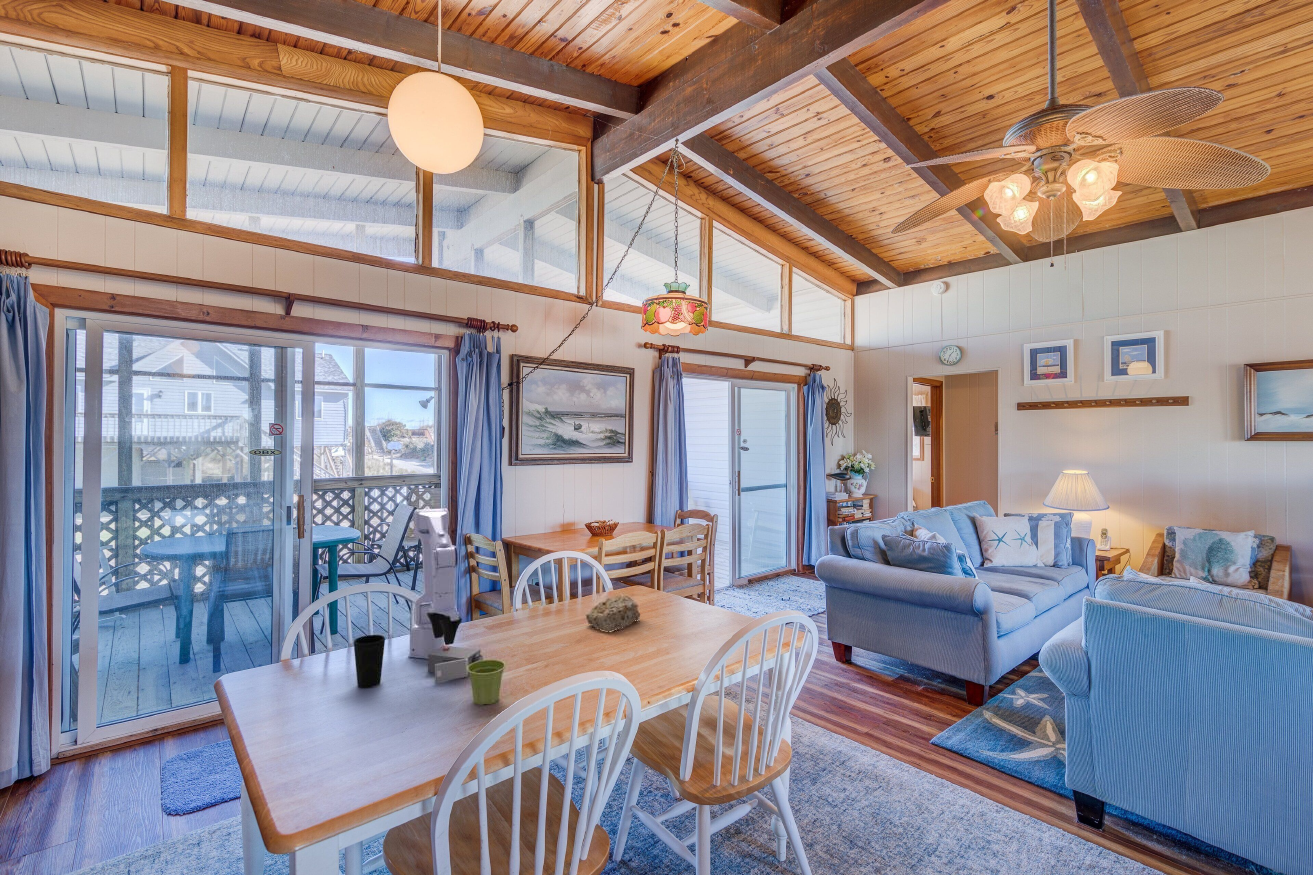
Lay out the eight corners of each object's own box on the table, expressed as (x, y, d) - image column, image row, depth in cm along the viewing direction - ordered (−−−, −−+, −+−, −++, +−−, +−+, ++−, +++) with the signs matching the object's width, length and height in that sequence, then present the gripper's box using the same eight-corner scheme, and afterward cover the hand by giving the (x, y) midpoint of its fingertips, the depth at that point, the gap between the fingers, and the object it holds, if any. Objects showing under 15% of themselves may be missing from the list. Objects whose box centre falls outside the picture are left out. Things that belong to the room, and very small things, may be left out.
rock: (615, 638, 210) (608, 609, 210) (584, 639, 218) (577, 611, 218) (650, 617, 227) (643, 590, 227) (619, 619, 235) (613, 593, 235)
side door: (435, 683, 167) (435, 665, 167) (434, 681, 168) (434, 664, 168) (468, 677, 171) (468, 659, 171) (467, 675, 172) (467, 658, 172)
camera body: (427, 672, 175) (428, 652, 175) (443, 662, 183) (443, 643, 183) (471, 677, 172) (471, 656, 172) (485, 667, 179) (485, 647, 179)
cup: (353, 691, 161) (354, 645, 161) (352, 681, 168) (353, 637, 168) (385, 686, 165) (386, 641, 165) (383, 676, 172) (384, 633, 172)
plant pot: (484, 711, 151) (485, 676, 151) (458, 702, 156) (458, 667, 156) (513, 698, 159) (513, 664, 159) (487, 689, 164) (487, 656, 164)
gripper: (419, 588, 173) (419, 636, 174) (440, 599, 163) (440, 651, 163) (444, 584, 178) (443, 631, 178) (466, 594, 167) (465, 645, 167)
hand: (443, 640), depth 171 cm, fingers open, 6 cm apart
